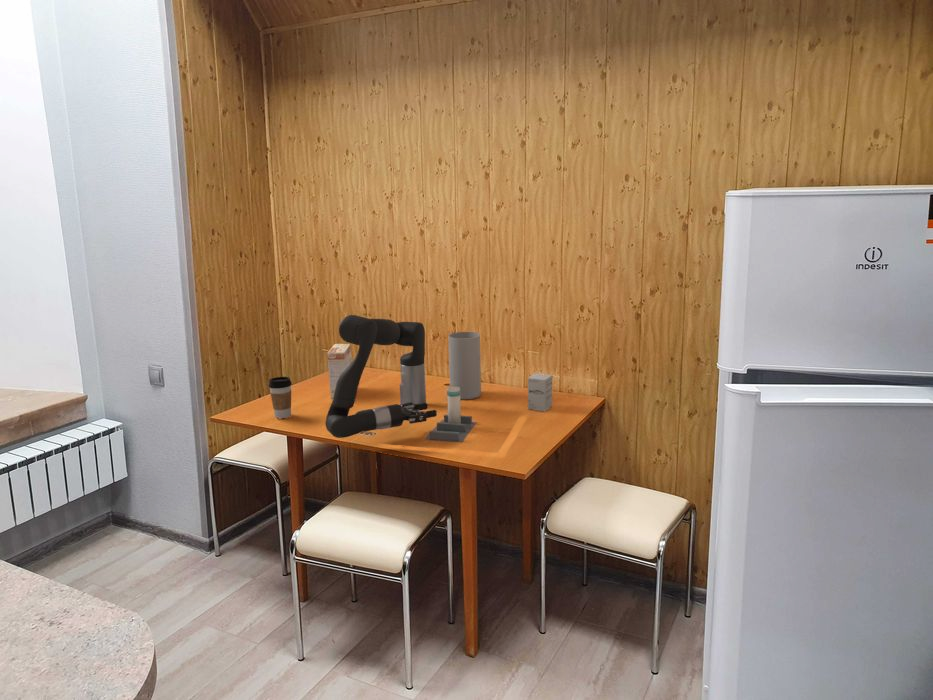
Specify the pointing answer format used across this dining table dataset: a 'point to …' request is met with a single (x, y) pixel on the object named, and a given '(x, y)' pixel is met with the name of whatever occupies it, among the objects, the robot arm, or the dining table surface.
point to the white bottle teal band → (454, 405)
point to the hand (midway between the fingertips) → (431, 409)
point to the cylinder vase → (465, 363)
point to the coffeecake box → (338, 363)
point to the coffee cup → (281, 396)
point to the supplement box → (540, 392)
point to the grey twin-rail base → (451, 430)
